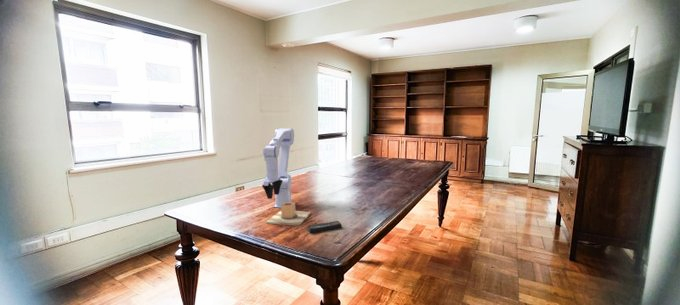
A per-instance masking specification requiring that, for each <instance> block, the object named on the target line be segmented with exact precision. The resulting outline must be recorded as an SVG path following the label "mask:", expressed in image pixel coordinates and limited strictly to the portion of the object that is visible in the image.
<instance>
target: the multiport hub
mask: <svg viewBox="0 0 680 305" xmlns="http://www.w3.org/2000/svg"><path fill="white" fill-rule="evenodd" d="M306 227H307V229H306V230H307V232H308V233H309V234H310V235H311V234H317V233H322V232H328V231H334V230H340V229H342V223H341V222H340V221H338V220H336V221H335V220H334V221H329V222H324V223H323V222H322V223H316V224H312V225H307V226H306Z"/></svg>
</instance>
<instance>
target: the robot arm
mask: <svg viewBox="0 0 680 305" xmlns="http://www.w3.org/2000/svg"><path fill="white" fill-rule="evenodd" d="M294 140H295V131H294V128H276V129H275V130H274V137H273V138H272V139H271V140H270V142H269V144H268V145H266V146H264V147H263V152H262V153H263V156H264V161H265V172H266V177H265V178H264V181H263V184H262V185H261V187H262V188H263V190H264V192H265V195H266V198H267V200H268V199H269V200H272V199H273V195H275V197H274V199H275V204H274V205H273V206H272V208H280V209H281V205H282V204H284V203H285V202H290V203H294V202H293V201H292V191H291V190H290V189H291V187H292V177H291V175H290V174H289V173H288V166H289V157H290V151H291V150H290V149H291V146H292V145H293V144H294ZM278 157H279V161H278ZM278 162H279V163H278ZM273 193H274V194H273Z"/></svg>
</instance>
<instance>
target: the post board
mask: <svg viewBox="0 0 680 305" xmlns="http://www.w3.org/2000/svg"><path fill="white" fill-rule="evenodd" d="M295 211H296V215H295V216H294V217H293V218H282V214H281V210H279V211H278V212H277V213H275V214H274V215H272V216H271V217H270V218H269V219H268V220H266V224H270V225H282V226H283V225H284V226H293V227H299V226H300V225H301V224H302V223H304V221H306V219H307V218H309V216H310V215H311V211H300V210H299V211H298V210H295Z"/></svg>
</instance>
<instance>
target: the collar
mask: <svg viewBox="0 0 680 305" xmlns="http://www.w3.org/2000/svg"><path fill="white" fill-rule="evenodd" d="M280 209H281V210H280V211H281V214H282V218H293V217H294V216H295V215H296V211H297V210H296V202H293V203H290V202H285V203H284V204H282V205H281V208H280Z"/></svg>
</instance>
